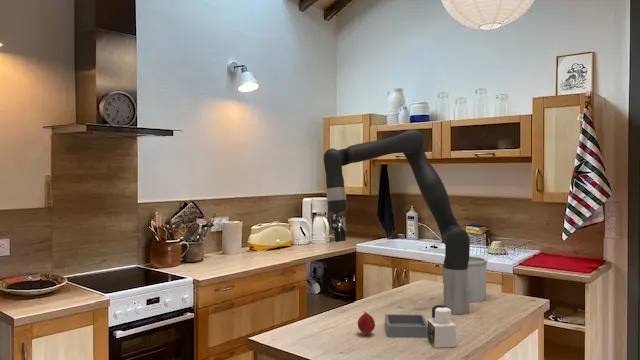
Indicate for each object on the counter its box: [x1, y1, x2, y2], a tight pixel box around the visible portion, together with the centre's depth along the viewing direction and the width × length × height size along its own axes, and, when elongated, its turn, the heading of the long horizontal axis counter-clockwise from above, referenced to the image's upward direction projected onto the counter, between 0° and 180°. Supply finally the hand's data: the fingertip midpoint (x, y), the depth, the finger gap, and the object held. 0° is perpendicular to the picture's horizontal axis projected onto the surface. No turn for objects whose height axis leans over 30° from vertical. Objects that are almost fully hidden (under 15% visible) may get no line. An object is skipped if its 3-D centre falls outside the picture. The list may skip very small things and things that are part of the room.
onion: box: [357, 310, 376, 336], centre depth 168 cm, size 6×6×8 cm
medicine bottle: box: [427, 304, 457, 349], centre depth 159 cm, size 7×7×12 cm
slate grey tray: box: [384, 313, 428, 339], centre depth 172 cm, size 14×14×4 cm
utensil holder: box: [468, 254, 488, 303], centre depth 214 cm, size 15×15×18 cm
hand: (340, 241), depth 192 cm, fingers open, 8 cm apart
